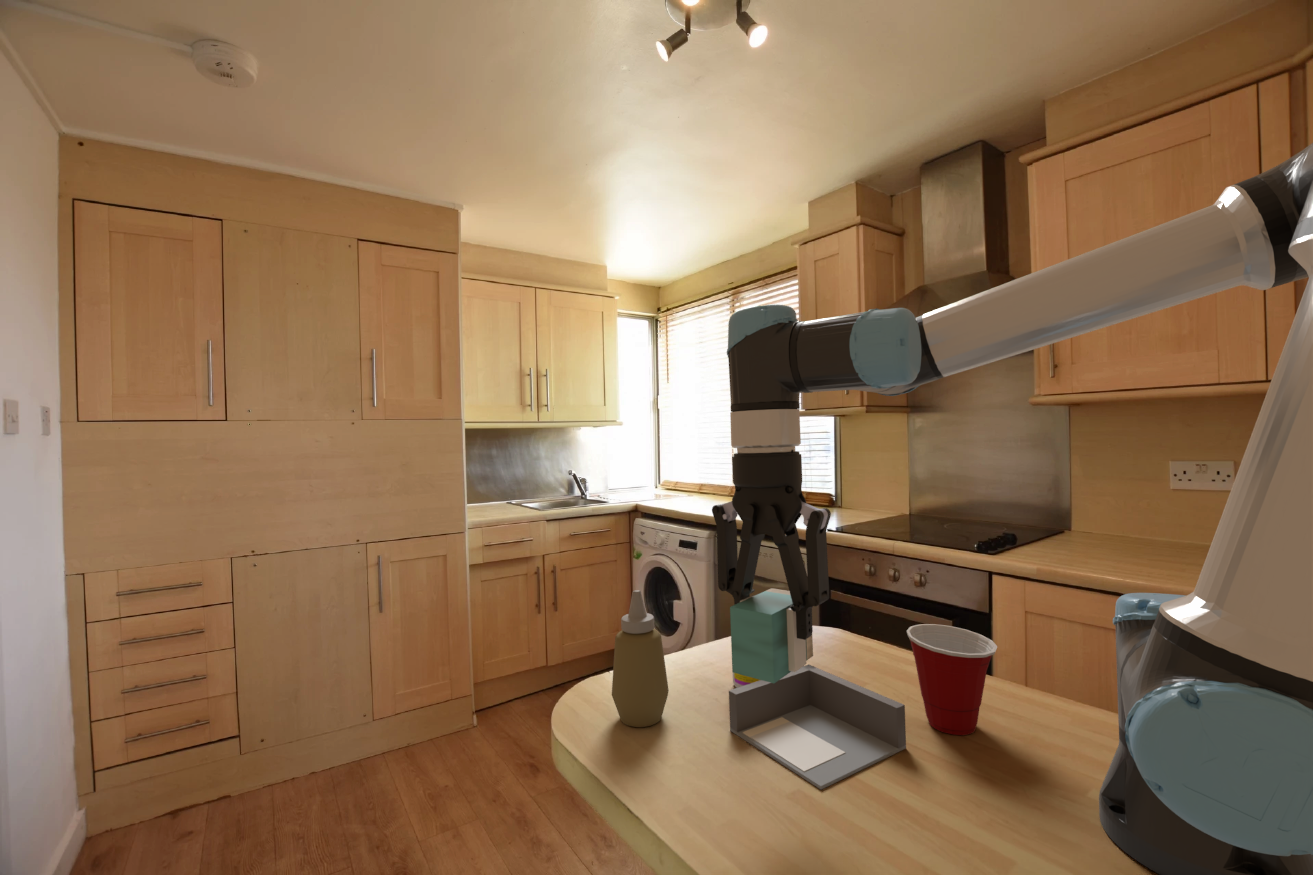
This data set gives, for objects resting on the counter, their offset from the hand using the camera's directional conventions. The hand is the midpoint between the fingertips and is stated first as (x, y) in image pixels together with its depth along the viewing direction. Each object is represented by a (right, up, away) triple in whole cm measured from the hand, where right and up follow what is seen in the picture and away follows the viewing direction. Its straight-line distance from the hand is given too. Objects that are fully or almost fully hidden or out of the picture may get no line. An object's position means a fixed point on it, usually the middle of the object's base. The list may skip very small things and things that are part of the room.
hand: (773, 660), depth 65 cm
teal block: (0, 0, 0) cm, 0 cm away
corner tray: (+8, -14, +11) cm, 20 cm away
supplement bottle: (+3, -15, +28) cm, 32 cm away
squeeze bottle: (-15, -15, +18) cm, 28 cm away
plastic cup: (+27, -14, +14) cm, 33 cm away
